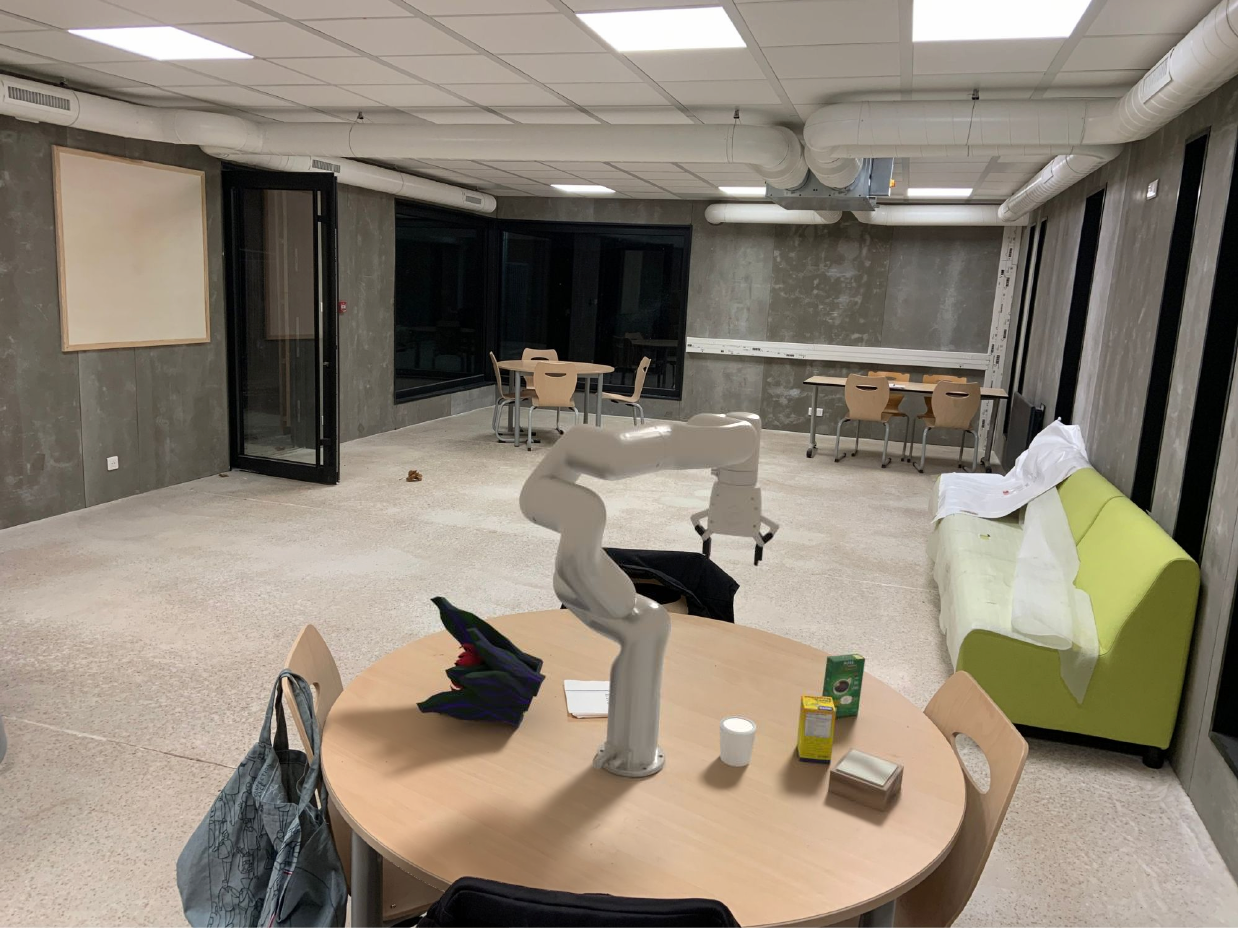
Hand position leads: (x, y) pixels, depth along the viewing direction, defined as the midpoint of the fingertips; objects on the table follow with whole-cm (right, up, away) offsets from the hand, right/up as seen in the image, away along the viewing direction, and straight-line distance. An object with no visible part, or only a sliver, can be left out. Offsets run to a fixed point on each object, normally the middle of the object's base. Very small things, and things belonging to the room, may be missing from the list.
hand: (731, 560), depth 174 cm
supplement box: (+15, -37, -5) cm, 40 cm away
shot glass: (0, -37, -7) cm, 37 cm away
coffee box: (+24, -34, +12) cm, 43 cm away
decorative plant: (-52, -31, +5) cm, 61 cm away
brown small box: (+22, -39, -15) cm, 48 cm away
